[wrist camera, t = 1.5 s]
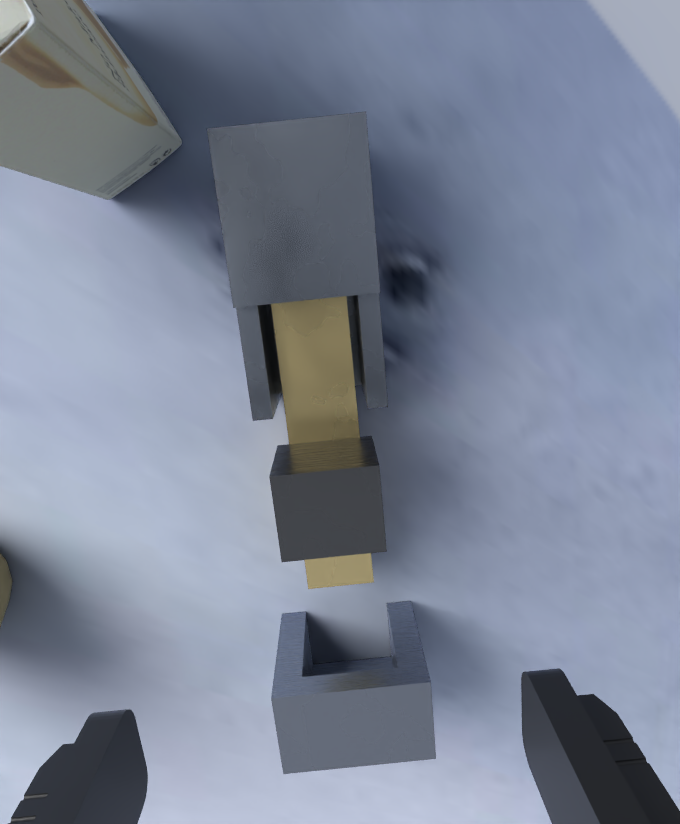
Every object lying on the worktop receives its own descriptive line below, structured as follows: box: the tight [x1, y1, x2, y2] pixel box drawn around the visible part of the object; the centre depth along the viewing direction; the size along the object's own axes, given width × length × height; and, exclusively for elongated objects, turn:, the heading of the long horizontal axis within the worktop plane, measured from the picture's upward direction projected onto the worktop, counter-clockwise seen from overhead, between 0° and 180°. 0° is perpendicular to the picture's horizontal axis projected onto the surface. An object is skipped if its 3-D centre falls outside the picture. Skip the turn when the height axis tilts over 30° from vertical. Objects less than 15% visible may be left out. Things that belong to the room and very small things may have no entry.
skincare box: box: [0, 0, 182, 200], centre depth 18 cm, size 6×4×12 cm
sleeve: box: [207, 112, 388, 421], centre depth 23 cm, size 10×5×6 cm, turn 6°
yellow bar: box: [270, 296, 387, 589], centre depth 23 cm, size 18×4×6 cm, turn 6°
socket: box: [271, 601, 436, 774], centre depth 28 cm, size 4×7×6 cm, turn 96°
